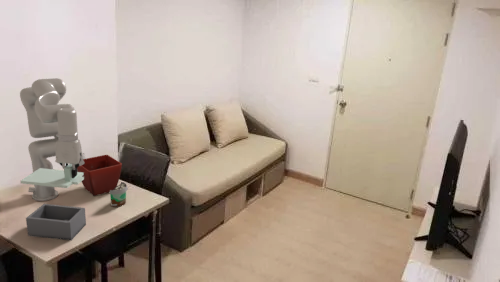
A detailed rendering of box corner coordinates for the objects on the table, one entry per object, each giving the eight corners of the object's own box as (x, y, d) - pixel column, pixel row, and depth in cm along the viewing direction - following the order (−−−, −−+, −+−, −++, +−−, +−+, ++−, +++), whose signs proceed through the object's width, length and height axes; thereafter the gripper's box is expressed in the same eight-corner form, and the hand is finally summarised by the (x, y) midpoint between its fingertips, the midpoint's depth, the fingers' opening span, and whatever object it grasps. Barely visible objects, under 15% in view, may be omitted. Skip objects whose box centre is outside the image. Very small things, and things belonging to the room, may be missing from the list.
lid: (20, 185, 169) (18, 167, 167) (40, 172, 183) (38, 155, 180) (72, 191, 168) (71, 173, 166) (88, 177, 182) (87, 160, 179)
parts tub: (27, 235, 177) (25, 218, 174) (45, 220, 190) (43, 203, 187) (71, 240, 176) (70, 222, 173) (86, 224, 189) (84, 207, 186)
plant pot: (76, 187, 226) (74, 160, 221) (108, 180, 239) (107, 154, 234) (90, 200, 213) (88, 171, 208) (123, 191, 226) (122, 164, 221)
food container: (120, 209, 205) (120, 192, 202) (109, 207, 206) (109, 190, 203) (132, 199, 217) (131, 183, 214) (121, 198, 218) (121, 181, 215)
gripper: (45, 137, 165) (48, 178, 171) (82, 141, 165) (84, 181, 170) (54, 132, 172) (57, 171, 178) (90, 136, 172) (92, 175, 178)
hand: (70, 176), depth 174 cm, fingers closed on lid
